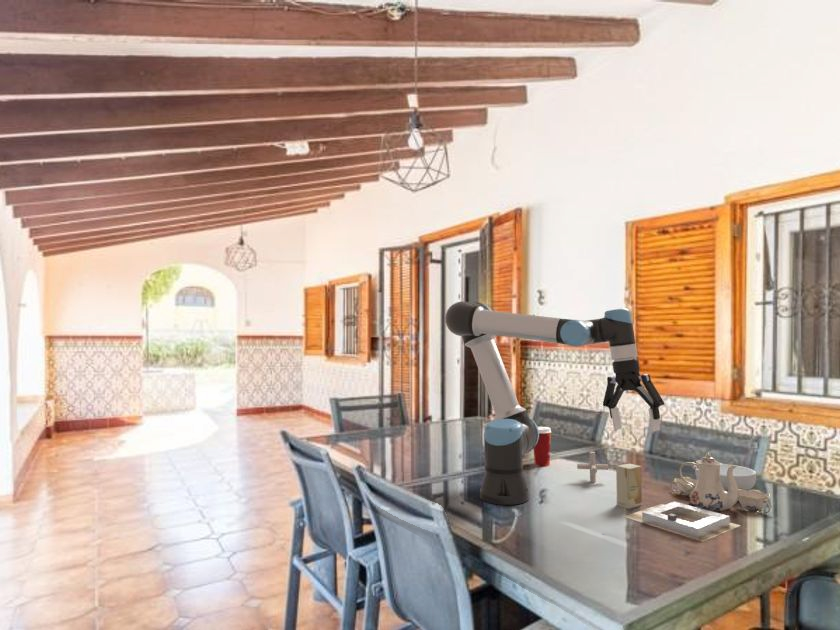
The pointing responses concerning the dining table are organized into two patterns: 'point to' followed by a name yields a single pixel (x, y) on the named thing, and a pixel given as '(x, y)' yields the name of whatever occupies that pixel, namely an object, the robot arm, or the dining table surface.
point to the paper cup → (543, 447)
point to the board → (638, 517)
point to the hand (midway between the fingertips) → (636, 430)
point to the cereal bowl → (736, 477)
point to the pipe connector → (592, 467)
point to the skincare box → (629, 485)
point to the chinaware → (718, 489)
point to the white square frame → (702, 527)
